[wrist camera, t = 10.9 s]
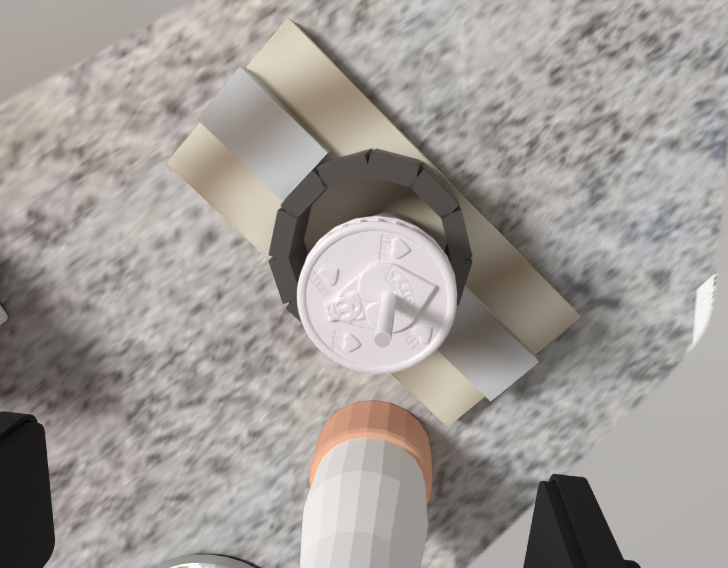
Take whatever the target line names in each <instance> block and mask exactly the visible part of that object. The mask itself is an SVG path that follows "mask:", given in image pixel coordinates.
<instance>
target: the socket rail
mask: <svg viewBox="0 0 728 568" xmlns="http://www.w3.org/2000/svg"><path fill="white" fill-rule="evenodd" d="M197 120H198V121H199V122H200V123H199V125H198V126H197V127H196V128H195V129H194V131H193V132H192V133H191V134H190V135H189V137H188V138H187V139H186V140H185V141H184V143H183V144H182V145H181V146H180V147H179V149H178V150H177V151H176V152H175V153H174V155H173V156H172V157H171V158H170V159H169V161H168V162H167V164H168V165H169V166H170V167H171V168H172V169H173V170H174V171H175V172H176V173H177V174H179V175H180V176H181V177H182V178H183V179H184V180H185V181H186V182H187V183H188V184H189V185H190V186H191V187H192V188H193V189H194V190H196V191H197V192H198V193H199V194H200V195H201V196H202V197H203V198H204V199H205V200H206V201H207V202H208V203H209V204H210V205H212V206H213V207H214V208H215V209H216V210H217V211H218V212H219V213H220V214H221V215H222V216H223V217H224V218H225V219H226V220H228V221H229V222H230V223H231V224H232V225H233V226H234V227H235V228H236V229H237V230H238V231H239V232H240V233H241V234H242V235H244V236H245V237H246V238H247V239H248V240H249V241H250V242H251V243H252V244H253V245H254V246H255V247H256V248H257V249H258V250H259V251H261V252H262V253H263V254H264V255H265V256H266V257H267V258H268V259H269V264H270V267H271V270H272V273H273V276H274V279H275V282H276V285H277V288H278V291H279V294H280V297H281V300H282V303H283V304H284V303H288V302H289V304H288V305H287V307H286V309H287V310H288V311H289V312H290V313H292V314H293V315H294V316H295V317H296V318H297V319H298V320H299V321H300V322H301V323H302V321H301V319H300V315H299V311H298V305H297V287H298V281H299V277H300V274H301V271H302V268H303V266H304V264H305V261H306V258H307V256H308V254H309V253H310V252H311V250H312V249H313V247H314V246H315V245H316V243H317V242H318V241H319V239H321V238H322V237H323V236H324V235H326V234H327V233H328V232H329V231H331V230H332V229H333V228H335V227H336V226H339V225H341V224H343V223H346V222H348V221H350V220H353V219H356V218H363V217H371V216H374V215H376V214H380V213H385V212H391V213H397V214H400V215H403V216H405V217H406V218H408V219H409V220H411V221H412V222H413V223H414V224H415V226H417V227H418V228H420V229H421V230H422V231H424V232H425V233H426V234H428V235H429V236H430V237H432V238H433V239H434V240H435V241H436V242H437V244H438V245H439V246H440V247H441V249H442V250H443V251H444V253H445V254H446V255H447V257H448V259H449V262H450V264H451V267H452V269H453V271H454V274H455V280H456V288H457V306H456V313H455V318H454V321H453V324H452V327H451V329H450V331H449V333H448V335H447V337H446V338H445V340H444V341H443V343H442V344H441V345H440V346H439V348H438V349H437V350H436V351H435V352H434V353H433V354H432V355H431V356H429V357H428V358H427V359H425V360H424V361H422V362H421V363H419V364H417V365H415V366H413V367H411V368H408V369H406V370H402V371H399V372H394V373H391V374H392V375H393V376H394V377H395V378H396V379H397V380H398V381H399V382H400V383H401V384H402V385H403V386H404V387H405V388H407V389H408V390H409V391H410V392H411V393H412V394H413V395H414V396H415V397H416V398H417V399H418V400H419V401H420V402H421V403H423V404H424V405H425V406H426V407H427V408H428V409H429V410H430V411H431V412H432V413H433V414H434V415H435V416H436V417H437V418H439V419H440V420H441V421H442V422H443V423H444V424H445V425H446V426H447V427H449V426H450V425H451V424H452V423H453V422H455V421H456V420H457V419H458V418H459V417H461V416H462V415H463V414H464V413H466V412H467V411H468V410H469V409H470V408H472V407H473V406H474V405H475V404H476V403H478V402H479V401H480V400H481V399H483V398H484V397H486V398H487V399H489V400H490V401H492V400H493V399H495V398H496V397H497V396H498V395H499V394H501V393H502V392H503V391H504V390H506V389H507V388H508V387H509V386H510V385H512V384H513V383H514V382H515V381H517V380H518V379H519V378H520V377H521V376H523V375H524V374H525V373H526V372H528V371H529V370H530V369H531V368H532V367H534V366H535V365H536V364H537V363H539V362H538V360H537V358H536V354H537V353H538V352H540V351H541V350H542V349H543V348H544V347H546V346H547V345H548V344H549V343H550V342H552V341H553V340H554V339H555V338H557V337H558V336H559V335H560V334H561V333H563V332H564V331H565V330H566V329H567V328H569V327H570V326H571V325H572V324H574V323H575V322H576V321H577V320H578V319H580V318H581V317H580V316H579V314H578V313H577V312H576V310H575V309H574V308H573V307H572V306H571V305H570V304H569V303H568V302H567V301H566V300H565V299H564V298H563V297H562V296H561V295H560V294H559V292H558V291H557V290H556V289H555V288H554V287H553V286H552V285H551V284H550V283H549V282H548V281H547V280H546V279H545V278H544V277H543V276H542V275H541V274H540V273H539V272H538V271H537V270H536V269H535V268H534V267H533V266H532V265H531V264H530V263H529V262H528V261H527V260H526V259H525V258H524V257H523V256H522V255H521V254H520V253H519V252H518V251H517V250H516V249H515V247H514V246H513V245H512V244H511V243H510V242H509V241H508V240H507V239H506V238H505V237H504V236H503V235H502V234H501V233H500V232H499V231H498V230H497V229H496V228H495V227H494V226H493V225H492V224H491V223H490V222H489V221H488V220H487V219H486V218H485V217H484V216H483V215H482V214H481V213H480V212H479V211H478V210H477V209H476V208H475V207H474V206H473V205H472V203H471V202H470V201H469V200H468V199H467V198H466V197H465V196H464V195H463V194H462V193H461V192H460V191H459V190H458V189H457V188H456V187H455V186H454V185H453V184H452V183H451V182H450V181H449V180H448V179H447V178H446V177H445V176H444V175H443V174H442V173H441V172H440V171H439V170H438V169H437V168H436V167H435V166H434V165H433V164H432V163H431V162H430V161H429V160H428V158H427V157H426V156H425V155H424V154H423V153H422V152H421V151H420V150H419V149H418V148H417V147H416V146H415V145H414V144H413V143H412V142H411V141H410V140H409V139H408V138H407V137H406V136H405V135H404V134H403V133H402V132H401V131H400V130H399V129H398V128H397V127H396V126H395V125H394V124H393V123H392V122H391V121H390V120H389V119H388V118H387V117H386V116H385V114H384V113H383V112H382V111H381V110H380V109H379V108H378V107H377V106H376V105H375V104H374V103H373V102H372V101H371V100H370V99H369V98H368V97H367V96H366V95H365V94H364V93H363V92H362V91H361V90H360V89H359V88H358V87H357V86H356V85H355V84H354V83H353V82H352V81H351V80H350V79H349V78H348V77H347V76H346V75H345V74H344V73H343V72H342V70H341V69H340V68H339V67H338V66H337V65H336V64H335V63H334V62H333V61H332V60H331V59H330V58H329V57H328V56H327V55H326V54H325V53H324V52H323V51H322V50H321V49H320V48H319V47H318V46H317V45H316V44H315V43H314V42H313V41H312V40H311V39H310V38H309V37H308V36H307V35H306V34H305V33H304V32H303V31H302V30H301V29H300V28H299V27H298V25H297V24H296V23H295V22H293V21H292V20H291V19H289V18H287V19H286V20H285V22H284V23H283V24H282V25H281V26H280V27H279V29H278V30H277V31H276V32H275V33H274V35H273V36H272V37H271V38H270V39H269V41H268V42H267V43H266V44H265V45H264V47H263V48H262V49H261V50H260V51H259V53H258V54H257V55H256V56H255V57H254V59H253V60H252V61H251V62H250V63H249V65H248V66H247V67H246V68H245V67H239V69H238V70H237V71H236V72H235V73H234V75H233V76H232V77H231V78H230V79H229V81H228V82H227V83H226V84H225V85H224V87H223V88H222V89H221V90H220V91H219V93H218V94H217V95H216V96H215V97H214V99H213V100H212V101H211V102H210V103H209V105H208V106H207V107H206V108H205V109H204V111H203V112H202V113H201V114H200V116H199V117H198V118H197Z"/></svg>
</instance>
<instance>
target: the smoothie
mask: <svg viewBox="0 0 728 568" xmlns="http://www.w3.org/2000/svg"><path fill="white" fill-rule="evenodd" d="M297 305H298V311H299V315H300V319H301V321H302V324H303V326H304V328H305V330H306V332H307V334H308V336H309V337H310V339H311V340H312V341H313V343H314V344H315V345H316V346H317V347H318V348H319V350H320V351H322V352H323V353H324V354H325V355H326V356H327V357H329V358H330V359H332V360H333V361H335V362H336V363H338V364H340V365H342V366H344V367H346V368H349V369H352V370H355V371H359V372H363V373H370V374H387V373H394V372H399V371H402V370H406V369H408V368H411V367H413V366H415V365H417V364H419V363H421V362H422V361H424V360H425V359H427V358H428V357H429V356H431V355H432V354H433V353H434V352H435V351H436V350H437V349H438V348H439V346H440V345H441V344H442V343H443V341H444V340H445V338H446V337H447V335H448V333H449V331H450V329H451V327H452V324H453V321H454V318H455V313H456V306H457V288H456V280H455V274H454V271H453V269H452V267H451V264H450V262H449V259H448V257H447V255H446V254H445V253H444V251H443V250H442V249H441V247H440V246H439V245H438V244H437V242H436V241H435V240H434V239H433V238H432V237H430V236H429V235H428V234H426V233H425V232H424V231H422V230H421V229H420V228H418V227H417V226H415V224H414V223H413V222H412V221H411V220H409V219H408V218H406V217H405V216H403V215H400V214H397V213H391V212H385V213H380V214H376V215H374V216H371V217H363V218H356V219H353V220H350V221H348V222H346V223H343V224H341V225H339V226H336V227H335V228H333V229H332V230H331V231H329V232H328V233H327V234H326V235H324V236H323V237H322V238H321V239H319V241H318V242H317V243H316V245H315V246H314V247H313V249H312V250H311V252H310V253H309V254H308V256H307V258H306V261H305V264H304V266H303V268H302V271H301V274H300V277H299V281H298V287H297Z"/></svg>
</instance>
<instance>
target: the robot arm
mask: <svg viewBox="0 0 728 568" xmlns="http://www.w3.org/2000/svg"><path fill="white" fill-rule="evenodd" d="M54 545H55V535H54V524H53V513H52V503H51V492H50V481H49V471H48V460H47V450H46V439H45V430H44V427H43V425H42V424H40V423H38V422H37V419H36V418H35V416H33V415H31V414H22V413H13V412H0V568H43V567H44V565H45V564H46V563H47V562H48V560H49V559H50V557H51V555H52V552H53V549H54ZM157 568H254V567H252V566H250V565H248V564H246V563H244V562H241V561H238V560H235V559H232V558H228V557H223V556H216V555H189V556H184V557H178V558H176V559H173V560H170V561H168V562H165V563H163V564H162V565H160V566H159V567H157ZM523 568H641V567H640V566H639V564H637V563H636V562H635V561H631V560H624V559H623V557H622V555H621V552H620V550H619V548H618V546H617V544H616V541H615V539H614V537H613V535H612V533H611V531H610V528H609V526H608V524H607V522H606V520H605V518H604V516H603V513H602V511H601V509H600V507H599V504H598V502H597V500H596V498H595V496H594V494H593V491H592V489H591V487H590V485H589V483H588V481H587V479H586V478H584V477H577V476H568V475H559V474H553V475H551V477H550V480H549V482H548V481H541V482H540V483H539V486H538V491H537V497H536V502H535V507H534V513H533V518H532V524H531V529H530V535H529V540H528V545H527V551H526V556H525V562H524V567H523Z"/></svg>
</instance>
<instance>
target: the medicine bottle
mask: <svg viewBox="0 0 728 568" xmlns="http://www.w3.org/2000/svg"><path fill="white" fill-rule="evenodd" d="M7 319H8V315H7V313H6V312H5V311H4V309H3V308H2V306H1V305H0V324H2V323H4V322H5V321H6V320H7Z"/></svg>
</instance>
